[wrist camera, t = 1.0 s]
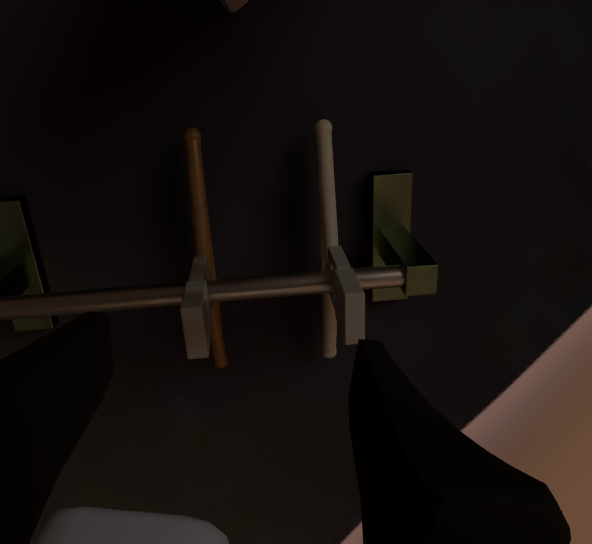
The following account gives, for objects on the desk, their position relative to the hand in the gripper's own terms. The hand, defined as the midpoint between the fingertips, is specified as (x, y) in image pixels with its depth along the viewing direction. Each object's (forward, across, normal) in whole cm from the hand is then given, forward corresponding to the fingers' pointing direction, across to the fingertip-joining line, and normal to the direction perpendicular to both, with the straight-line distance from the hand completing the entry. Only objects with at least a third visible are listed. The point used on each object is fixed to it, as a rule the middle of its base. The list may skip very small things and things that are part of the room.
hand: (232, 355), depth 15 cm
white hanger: (+13, -3, +2) cm, 14 cm away
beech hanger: (+12, +3, +2) cm, 13 cm away
